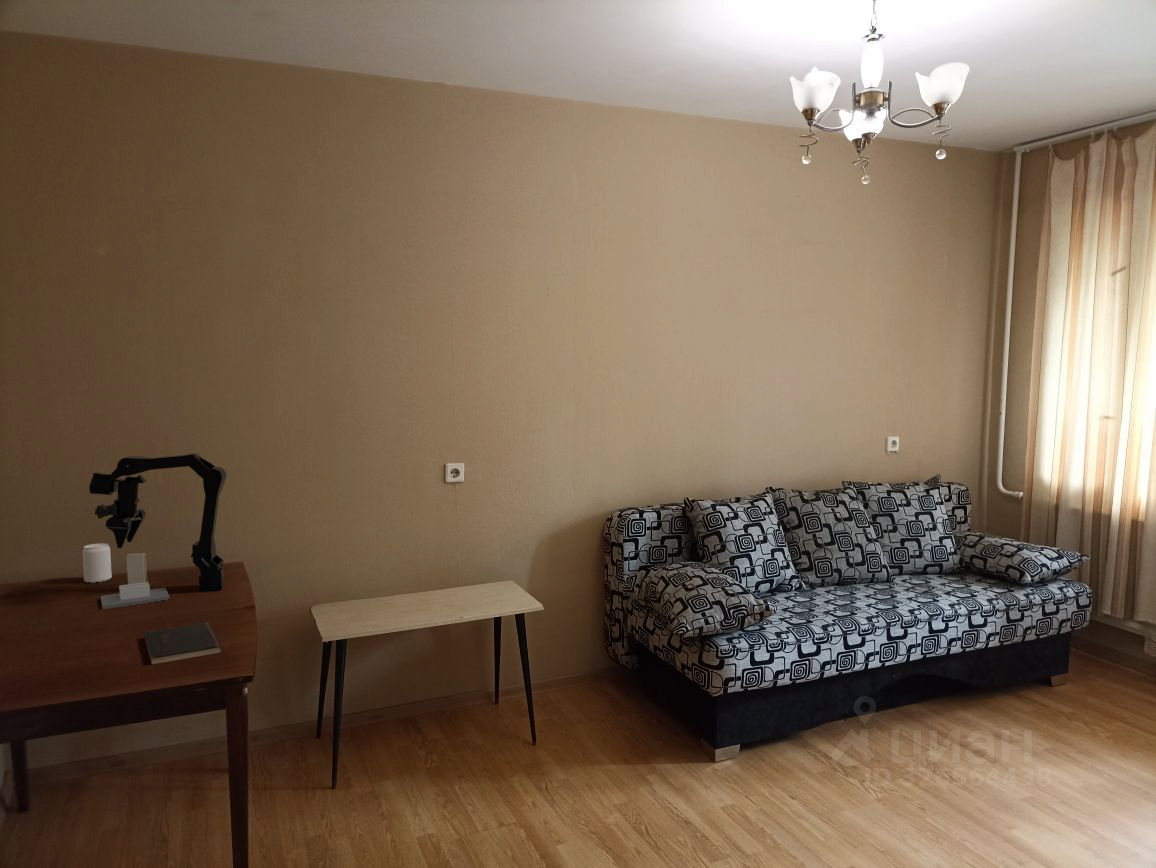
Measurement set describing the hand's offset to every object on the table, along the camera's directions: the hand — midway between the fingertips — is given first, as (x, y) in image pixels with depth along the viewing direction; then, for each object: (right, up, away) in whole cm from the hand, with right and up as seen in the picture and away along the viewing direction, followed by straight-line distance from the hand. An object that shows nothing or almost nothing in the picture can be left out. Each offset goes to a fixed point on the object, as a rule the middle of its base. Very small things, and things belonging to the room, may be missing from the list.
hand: (124, 545), depth 258 cm
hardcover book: (+41, -20, -48) cm, 66 cm away
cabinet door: (+2, -15, +5) cm, 16 cm away
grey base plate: (+6, -16, -5) cm, 18 cm away
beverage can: (-19, -15, +18) cm, 30 cm away
